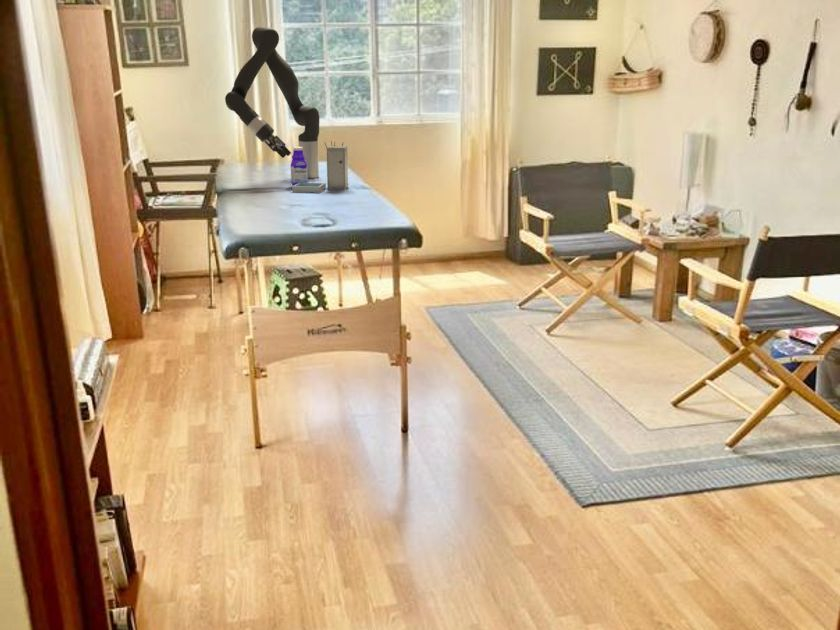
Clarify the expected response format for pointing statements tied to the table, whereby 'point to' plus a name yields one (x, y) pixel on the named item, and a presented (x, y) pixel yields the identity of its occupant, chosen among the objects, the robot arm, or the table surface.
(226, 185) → the table surface
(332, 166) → the grey slotted box
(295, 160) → the bottle
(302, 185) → the tray
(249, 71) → the robot arm
